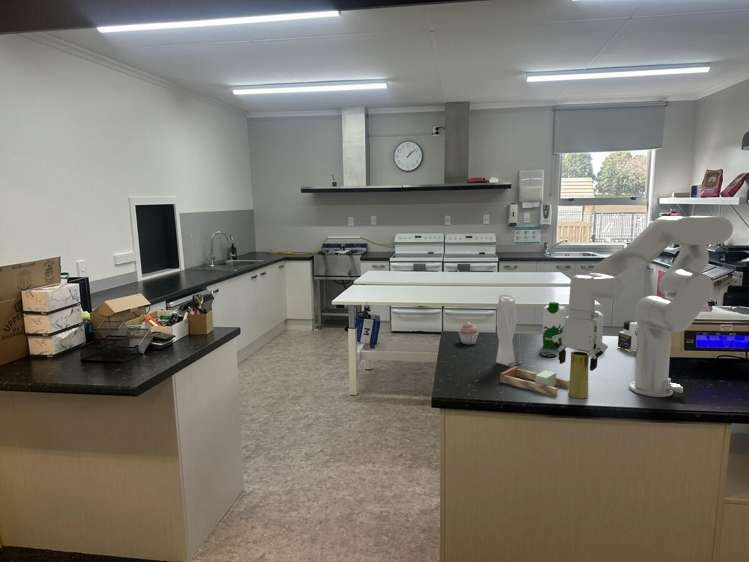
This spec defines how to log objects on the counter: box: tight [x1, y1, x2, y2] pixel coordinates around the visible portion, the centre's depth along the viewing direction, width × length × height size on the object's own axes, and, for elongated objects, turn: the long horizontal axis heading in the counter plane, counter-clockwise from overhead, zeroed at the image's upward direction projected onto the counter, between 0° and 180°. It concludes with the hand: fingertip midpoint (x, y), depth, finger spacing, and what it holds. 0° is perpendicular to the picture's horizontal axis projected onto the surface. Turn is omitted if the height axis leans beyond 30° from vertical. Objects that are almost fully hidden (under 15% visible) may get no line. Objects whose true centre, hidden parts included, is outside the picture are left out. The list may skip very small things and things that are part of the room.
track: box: [499, 365, 570, 397], centre depth 168 cm, size 20×10×3 cm, turn 46°
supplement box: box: [594, 310, 604, 349], centre depth 213 cm, size 9×9×15 cm
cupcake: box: [458, 321, 480, 345], centre depth 222 cm, size 9×9×10 cm
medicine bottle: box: [617, 320, 637, 352], centre depth 208 cm, size 7×7×12 cm
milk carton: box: [542, 301, 566, 351], centre depth 212 cm, size 9×9×20 cm
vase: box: [567, 350, 590, 400], centre depth 157 cm, size 6×6×14 cm
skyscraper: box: [495, 294, 522, 368], centre depth 190 cm, size 8×8×28 cm
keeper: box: [534, 369, 557, 387], centre depth 165 cm, size 4×7×4 cm, turn 136°
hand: (577, 366), depth 157 cm, fingers open, 9 cm apart
